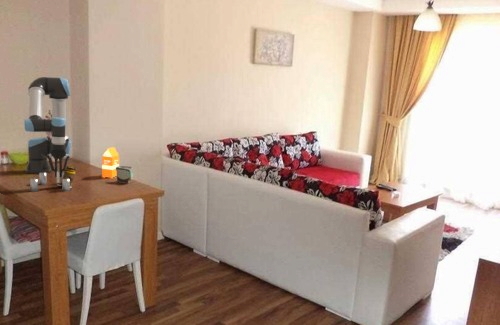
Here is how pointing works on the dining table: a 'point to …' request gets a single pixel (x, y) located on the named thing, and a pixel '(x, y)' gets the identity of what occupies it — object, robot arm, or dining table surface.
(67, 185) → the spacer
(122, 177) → the retro television
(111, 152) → the orange juice
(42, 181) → the cylinder
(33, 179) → the cylinder
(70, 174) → the condiment
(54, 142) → the robot arm
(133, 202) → the dining table surface
